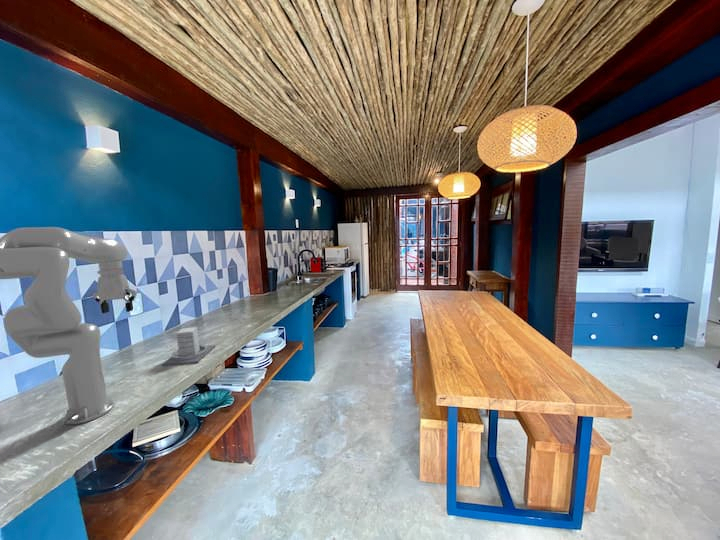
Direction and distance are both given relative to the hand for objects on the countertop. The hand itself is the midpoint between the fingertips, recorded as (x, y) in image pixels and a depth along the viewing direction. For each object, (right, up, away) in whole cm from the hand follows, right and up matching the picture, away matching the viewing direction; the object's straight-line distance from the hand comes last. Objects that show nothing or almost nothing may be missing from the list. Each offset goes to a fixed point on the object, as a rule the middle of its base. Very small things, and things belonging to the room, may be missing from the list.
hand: (117, 311), depth 124 cm
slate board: (+20, -25, +20) cm, 38 cm away
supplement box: (+19, -24, +20) cm, 37 cm away
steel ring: (+20, -25, +20) cm, 38 cm away
